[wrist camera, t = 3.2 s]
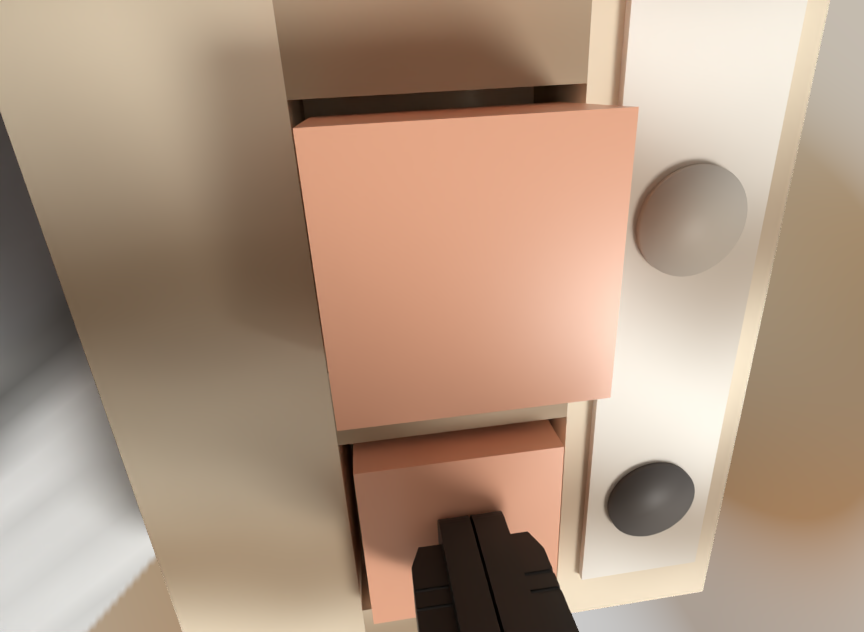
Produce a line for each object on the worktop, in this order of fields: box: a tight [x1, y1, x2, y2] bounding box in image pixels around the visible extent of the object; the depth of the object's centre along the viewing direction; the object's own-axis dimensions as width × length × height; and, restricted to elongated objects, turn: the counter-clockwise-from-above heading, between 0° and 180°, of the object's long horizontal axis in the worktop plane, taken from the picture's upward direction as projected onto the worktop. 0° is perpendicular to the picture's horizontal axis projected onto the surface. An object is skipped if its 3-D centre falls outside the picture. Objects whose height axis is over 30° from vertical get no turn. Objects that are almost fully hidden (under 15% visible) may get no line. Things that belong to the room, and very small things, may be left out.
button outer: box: [353, 419, 564, 624], centre depth 14 cm, size 5×5×3 cm
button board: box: [0, 0, 830, 632], centre depth 12 cm, size 22×14×4 cm, turn 3°
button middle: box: [293, 102, 639, 431], centre depth 9 cm, size 5×5×3 cm
